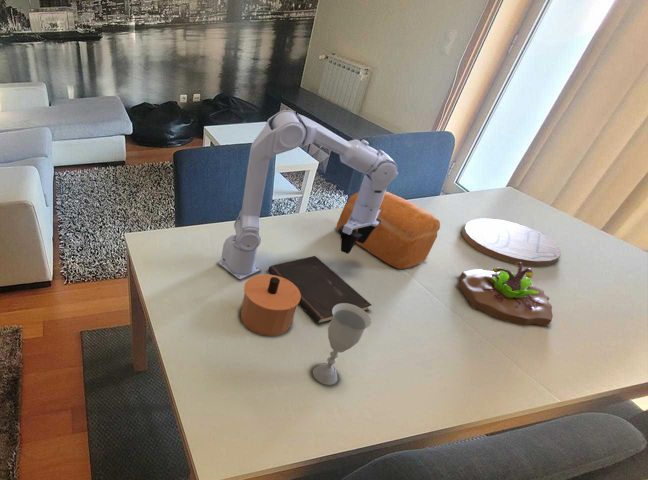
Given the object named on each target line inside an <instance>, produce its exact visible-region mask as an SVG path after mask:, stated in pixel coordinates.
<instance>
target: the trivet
mask: <svg viewBox="0 0 648 480" xmlns="http://www.w3.org/2000/svg"><path fill="white" fill-rule="evenodd" d="M461 234H462V237H463V239H464V240H465V241H466V242H467V243H468V244H469V245H471V246H472V247H473V248H474V249H475V250H478V251H480V252H481V253H483V254H485V255H487V256H490V257H492V258H494V259H497V260H499V261H504V262H506V263H509V264H515V265H516V264H517V263H518V262H521V263H522V266H524V267H525V266H526V267H545V266H546V267H547V266H550V265H553V264H554V263H555V262H556V261H557V260H558V259H559V258H560V256H561V255H562V249H561V247H560V246H559V245H558V244H557V242H555V241H554V240H553V239H552V238H550V237H549V236H547V235H546V234H544V233H542V232H540V231H538V230H535V229H533V228H532V227H528V226H526V225H523V224H519V223H516V222H512V221H509V220H504V219H496V218H476V219H471V220H470V221H467V222H466V224H465V225H464V227H463V229H462V230H461Z"/></svg>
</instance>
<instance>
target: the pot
mask: <svg viewBox="0 0 648 480" xmlns="http://www.w3.org/2000/svg"><path fill="white" fill-rule="evenodd" d="M243 293H244V294H243V298H242V303H241V309H240V319H241V322H242V323H243V324H244V326H245V327H246V328H247V329H249V330H250V331H252V332H254V333H256V334H258V335H261V336H265V337H266V336H267V337H268V336H269V337H275V336H279V335H283V334H284V333H286V332H287V331H289V329H290V327H291V325H292V323H293V320H294V316H295V313H296V311H297V307H298V305H297V306H296V307H294V308H293V309H290V310H287V311H270V310H266V309H263V308H260V307H258V306H256V305H255V304H253V303H252V302H251V301H250V300H249V299H248V298H247V297H246V295H245V292H243Z"/></svg>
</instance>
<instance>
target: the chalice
mask: <svg viewBox="0 0 648 480" xmlns="http://www.w3.org/2000/svg"><path fill="white" fill-rule="evenodd" d="M332 313H333V317H332V319H331V321H330V322H329V325H328V326H327V337H328V341H329V345H330V348H331V349H332V351H331V352H330V353H329V355H330V357H329V356H328V357H327V359H326V361H327V363H325V362H323V363H320V364H319V365H317V366H316V367H314V369H313V371H312V374H313V377H314V378H315V379H316V381H318V382H319V383H321V384H323V385H326V386H328V385H330V386H331V385H334V384H336V383H337V381H338V373H337V370H336V368H335V367H334V365H335V364H336V363H337V361H336V359H337V358H338V357H339V353H344V352H346V351H348V350H350V349H352V348H353V347H354V346H355V345H357V344H358V343H359V342H360V341H361V340H360V339H361V337H362V335H363V333H364V331H365V330H366V329H368V328H369V327H370V326H371V324H372V320H371V317H370V315H369V314H368V313H367V312H365V311H364V310H362V309H361V308H359V307H357V306H355V305H352V304H348V303H341V304H337V305H335V306H334V307H333V309H332Z"/></svg>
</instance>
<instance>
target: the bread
mask: <svg viewBox="0 0 648 480" xmlns="http://www.w3.org/2000/svg"><path fill="white" fill-rule="evenodd" d="M358 194H359V191H357V192H354V194H352V195H351V196H350V197H348V200H347V203H346V204H345V205H344V206H343V208H342V211H341V212H340V215H339V217H338V219H337V220H338V221H337V223H336V226H335V227H336V228H335V229H336V231H337V232H339V227H341V226H342V225H346V224H347V222H348V219H349V217H350V215H351V214H352V211H353V208H354V205H355V203H356V200H357V197H358ZM379 210H381V211H380V213H379V216H378V217H377V219H379V220H381V223H380V224H379V225H378V226H377V227H376V228H375V229H374V230H373V231H372V233H371V234H370V235H369V237H368V238H367V240H366V241H365V242H364V243H363V244H362V243H360V242H358V241H356V243H355V244H357V245H358V246H360V247H361V248H363V249H365V250H366V251H367V252H369V253H371V254H372V255H373V256H375V257H377V258H378V259H380V260H382V262H384V263H386V264H388V265H389V266H391V267H393V268H396V269H399V270H402V269H408V268H412V267H415V266H418V265H420V264H421V263H423V262H424V261H426V259H428V256H429V254H430V252H431V250H432V248H433V246H434V244H435V242H436V240H437V238H438V232H439V230H440V229H441V221H440V220H439V219H438V218H437V217H435V216H434V215H433V214H432V213H430V212H428V211H426V210H425V209H423V208H421V207H420V206H418V205H416V204H415V203H412V202H410V201H409V200H407V199H405V198H403V197H401V196H398V195H396V194H394V193H391V192H389V191H386V192H385V195H384V197H383V200H382V203H381V205H380V208H379ZM356 231H358V228H357V229H356Z"/></svg>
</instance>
